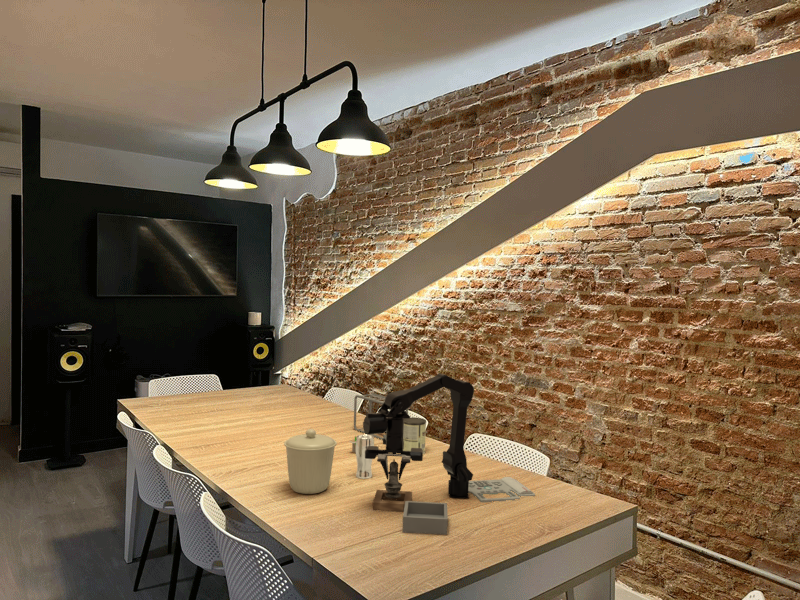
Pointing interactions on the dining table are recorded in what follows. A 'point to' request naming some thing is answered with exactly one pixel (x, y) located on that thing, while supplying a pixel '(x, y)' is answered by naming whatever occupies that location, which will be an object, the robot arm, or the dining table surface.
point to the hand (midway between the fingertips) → (393, 479)
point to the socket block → (391, 505)
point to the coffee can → (414, 433)
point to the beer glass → (363, 456)
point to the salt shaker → (393, 482)
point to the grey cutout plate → (498, 489)
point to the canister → (309, 461)
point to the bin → (425, 517)
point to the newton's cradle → (369, 408)
